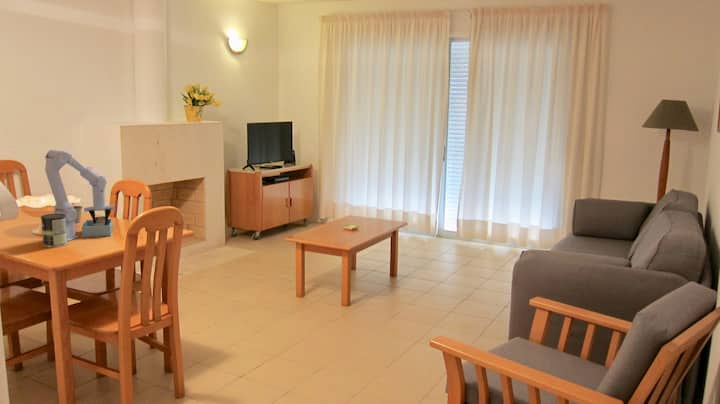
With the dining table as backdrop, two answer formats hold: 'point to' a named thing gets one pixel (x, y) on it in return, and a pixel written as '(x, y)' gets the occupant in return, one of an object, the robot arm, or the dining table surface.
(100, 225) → the walnut cube
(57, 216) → the coffee can
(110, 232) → the tote
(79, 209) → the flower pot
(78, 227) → the dining table surface
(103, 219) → the grey cylinder
